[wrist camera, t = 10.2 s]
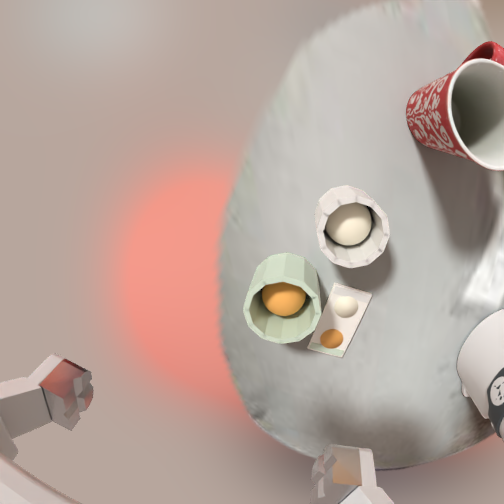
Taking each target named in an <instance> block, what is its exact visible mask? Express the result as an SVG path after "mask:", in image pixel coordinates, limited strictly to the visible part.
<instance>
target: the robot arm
mask: <svg viewBox="0 0 504 504" xmlns="http://www.w3.org/2000/svg"><path fill="white" fill-rule="evenodd" d="M457 371H458V374H459V376H460V378H461V380H462V393H463V395H464V396H465V397H471V398H472V400H473V402H474V403H475V405H476V406H477V408H478V410H479V411H480V413H481V414H482V416H483V417H484V418H485V419H487V418H488V419H490V421H491V425H492V427H493V429H494V431H496V433H497V435H498V436H499V437H500V438H502V439H503V441H504V309H502V310H500V311H497V312H495V313H493V314H492V315H490V316H489V317H487V318H486V319H485V320H483V321H482V322H481V323H480V324H479V325H478V326H477V327H476V328H475V329H474V330H473V331H472V332H471V334H470V335H469V336H468V338H467V339H466V341H465V342H464V344H463V346H462V348H461V350H460V353H459V356H458V361H457ZM91 379H92V375H91V372H90V371H88V370H86V369H85V368H82V367H81V366H79V365H77V364H75V363H73V362H71V361H69V360H67V359H65V358H64V357H62V356H60V355H58V354H56V353H54V354H51V355H50V356H49V357H48V358H47V359H46V360H45V361H44V362H43V363H42V364H41V365H40V366H39V367H38V368H37V369H36V370H35V371H34V372H33V373H32V374H31V375H30V376H29V377H28V378H26V377H21V378H17V379H13V380H9V381H5V382H1V383H0V504H81V503H80V502H78V501H76V500H74V499H72V498H70V497H68V496H66V495H65V494H63V493H61V492H60V491H58V490H56V489H55V488H53V487H51V486H49V485H48V484H46V483H45V482H43V481H42V480H40V479H38V478H37V477H35V476H34V475H32V474H30V473H29V472H28V471H26V470H25V469H23V468H22V467H20V466H19V465H18V464H16V463H15V462H13V459H14V458H15V457H16V455H17V454H18V449H17V447H16V445H15V444H14V442H13V440H12V439H13V438H15V437H17V436H20V435H22V434H25V433H27V432H29V431H32V430H34V429H36V428H39V427H41V426H43V425H45V424H48V423H50V422H51V420H52V421H54V422H55V423H57V424H59V425H61V426H63V427H65V428H67V429H68V430H72V429H73V428H74V426H75V425H76V424H77V422H78V421H79V420H80V414H79V412H82V411H85V410H87V408H88V407H89V405H90V403H91V401H92V398H93V386H92V385H91V384H90V380H91ZM311 480H312V482H313V483H314V485H315V486H314V487H313V488H312V490H311V498H310V504H394V502H393V501H392V500H391V499H390V498H389V497H388V495H387V494H386V493H385V492H384V490H383V489H382V488H381V487H377V483H376V475H375V467H374V460H373V453H372V450H371V449H367V448H356V447H351V446H343V445H335V444H328V445H327V446H326V447H325V449H324V454H323V455H321V456H319V457H318V458H317V459H316V461H315V463H314V466H313V468H312V476H311Z"/></svg>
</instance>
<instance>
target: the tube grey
mask: <svg viewBox="0 0 504 504" xmlns="http://www.w3.org/2000/svg"><path fill="white" fill-rule="evenodd" d="M365 205H367V206H368V208H369V210H368V208H367V207H366V206H365ZM314 216H315V224H316V231H317V236H318V240H319V245H320V250H321V251H322V252H323V253H324V254H325V255H326V256H327V257H328V258H329V259H330V260H331V261H332V262H333V263H334V264H338V265H341V266H344V267H347V268H355V267H360V266H365V265H369V264H370V263H371V262H373V261H374V260H375V259H376V258H377V257H379V256H380V255H381V254H382V253H383V252H384V249H385V247H386V244H387V242H388V239H389V236H390V231H389V224H388V218H387V215H386V214H385V213H384V212H383V210H382V209H381V208H380V207H379V206H378V204H377V203H376V202H375V201H374V200H373V199H372V198H371V197H370V196H368V195H367V194H366V193H365V192H364V191H363V190H361V189H358V188H355V187H352V186H349V185H344V186H339V187H335V188H331V189H330V190H329V191H328V192H326V193H325V194H324V195H323V196H322V197H321V198H320V199H319V201H318V204H317V208H316V211H315V214H314ZM324 228H326V230H327V232H326V231H325V230H324Z"/></svg>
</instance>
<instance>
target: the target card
mask: <svg viewBox="0 0 504 504" xmlns="http://www.w3.org/2000/svg"><path fill="white" fill-rule="evenodd" d="M371 296H372V293H369V292H365V291H362V290H359V289H355V288H352V287H349V286H345V285H342V284H339V283H335V282H334V285H333V287H332V290H331V292H330V295H329V297H328V300H327V302H326V304H325V307H324V309H323V312H322V314H321V316H320V319H319V321H318V323H317V326H316V328H315V330H314V333H313V335H312V337H311V340H310V342H309V344H308V346H307V349H310V350H314V351H318V352H322V353H326V354H330V355H334V356H338V357H342V356H343V354H344V352H345V350H346V348H347V346H348V344H349V343H350V341H351V339H352V337H353V334H354V332H355V330H356V328H357V326H358V324H359V322H360V320H361V318H362V316H363V314H364V312H365V309H366V307H367V305H368V303H369V301H370V299H371Z"/></svg>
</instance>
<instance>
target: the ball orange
mask: <svg viewBox="0 0 504 504" xmlns="http://www.w3.org/2000/svg"><path fill="white" fill-rule="evenodd" d="M305 298H306V292H305V291H304V290H303V289H302V288H301V287H300V286H296V285H293V284H290V283H286V282H278V283H273V284H268V285H265V286H264V287H263V290H262V299H263V302H264V304H265V306H266V307H267V309H268V310H269V311H271V312H272V313H274V314H276V315H279V316H288V315H291V314H294V313H296V312H297V311H298V310H299V309H300V308H301V307H302V306H303V304H304V302H305Z"/></svg>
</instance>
